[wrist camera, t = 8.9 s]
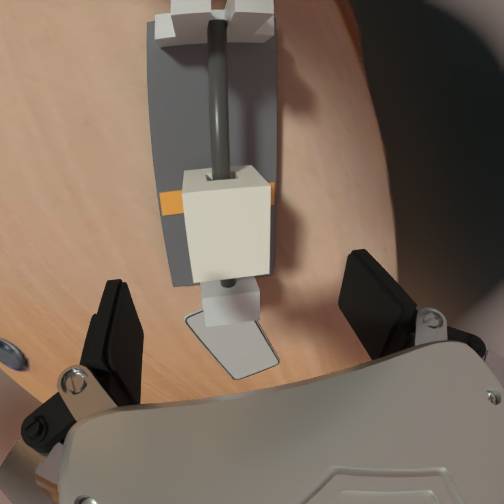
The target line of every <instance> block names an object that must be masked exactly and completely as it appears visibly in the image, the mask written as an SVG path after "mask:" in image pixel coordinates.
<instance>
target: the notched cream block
mask: <svg viewBox="0 0 504 504" xmlns="http://www.w3.org/2000/svg"><path fill="white" fill-rule="evenodd" d="M230 171H231V179H226V180H215V181H213V180H212V168H206V169H195V170H186V171H184V177H183V186H182V201H183V209H184V218H185V226H186V234H187V242H188V249H189V256H190V263H191V270H192V276H193V283H198V282H207V281H216V280H224V279H232V278H240V277H248V276H256V275H264V274H269V266H270V208H271V185H270V184H269V183H268V182H267V181H266V180H265V179H264V178H263V177H262V176H261V175H260V174H259V173H258V172H257V170H256V169H255V168H254V167H253V166H252V165H244V166H230Z"/></svg>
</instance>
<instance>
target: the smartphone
mask: <svg viewBox="0 0 504 504" xmlns="http://www.w3.org/2000/svg"><path fill="white" fill-rule="evenodd" d="M184 320H185V323H186V325H187V326H188V327H189V329H190V330H191V331H192V332H193V333H194V335H195V336H196V337H197V338H198V340H199V341H200V342H201V343H202V344H203V345H204V347H205V348H206V349H207V350H208V351H209V353H210V354H211V355H212V356H213V357H214V358H215V359H216V361H217V362H218V363H219V364H220V365H221V366H222V367H223V369H224V370H225V371H226V372H227V373H228V374H229V375H230V376H231V377H232V378H233V379H235V380H240V379H243V378H245V377H248V376H251V375H254V374H256V373H259V372H261V371H264V370H266V369H269V368H271V367H274V366H276V365H278V364H279V362H280V360H279V358H278V356H277V354H276V353H275V351H274V349H273V348H272V346H271V344H270V342H269V341H268V339H267V337H266V335H265V334H264V332H263V330H262V328H261V327H260V325H259V323H258V321H257V320H256V321H249V322H242V323H235V324H227V325H220V326H211V327H206V324H205V318H204V311H203V308H201V309H198V310H196V311H193V312H191V313H189V314H187V315H186V316H185V319H184Z"/></svg>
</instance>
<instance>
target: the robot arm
mask: <svg viewBox="0 0 504 504" xmlns="http://www.w3.org/2000/svg"><path fill="white" fill-rule="evenodd" d="M338 305H339V308H340V310H341V311H342V313H343V314H344V316H345V317H346V319H347V321H348V322H349V324H350V325H351V327H352V328H353V330H354V332H355V333H356V335H357V336H358V338H359V340H360V341H361V343H362V344H363V346H364V348H365V349H366V351H367V353H368V354H369V356H370V357H371V359H372V361H369V362H366V363H363V364H360V365H357V366H354V367H350V368H347V369H343V370H340V371H336V372H333V373H329V374H326V375H322V376H318V377H314V378H310V379H306V380H302V381H298V382H293V383H289V384H285V385H280V386H275V387H270V388H265V389H260V390H255V391H249V392H243V393H237V394H231V395H224V396H217V397H210V398H201V399H193V400H183V401H174V402H163V403H149V404H140V397H141V371H142V354H143V341H144V333H143V329H142V326H141V323H140V321H139V318H138V315H137V312H136V309H135V306H134V304H133V301H132V298H131V295H130V291H129V288H128V285H127V283H126V282H122V280H121V279H117V280H108V281H107V282H106V286H105V289H104V292H103V295H102V298H101V302H100V305H99V309H98V312H97V314H94V315H93V316H92V318H91V321H90V325H89V329H88V332H87V336H86V340H85V344H84V348H83V352H82V356H81V360H80V365H73V366H70V367H68V368H66V369H65V370H64V371H63V372H62V373H61V374H60V376H59V377H58V381H57V388H58V391H59V392H57V393H56V394H55V395H54V396H52V397H51V398H50V399H49V400H47V401H46V402H45V403H44V404H42V405H41V406H40V407H39V408H38V409H36V410H35V411H34V412H33V413H31V414H30V415H29V416H27V418H26V419H25V420H24V421H23V423H22V427H21V436H22V439H21V440H20V441H18V440H16V442H15V444H14V445H13V447H12V448H11V450H10V451H9V453H8V455H7V456H6V458H5V460H4V461H3V463H2V464H1V466H0V489H1V491H2V492H3V493H4V494H5V495H6V496H7V498H8V499H9V500H10V501H11V502H12V503H13V504H504V358H503V357H501V356H499V355H498V354H496V353H495V352H493V351H492V350H490V349H488V351H486V347H485V344H484V342H483V341H482V340H481V339H480V338H479V337H477V336H475V335H473V334H470V333H467V332H464V331H461V330H458V329H455V328H452V327H448V326H447V322H446V319H445V317H444V315H443V314H442V313H441V312H439V311H438V310H436V309H433V308H429V307H426V308H422V309H420V310H419V311H417V310H416V306H417V304H416V303H415V302H414V301H413V300H412V299H411V298H410V296H409V295H408V294H407V293H406V292H405V291H404V290H403V289H402V287H401V286H400V285H399V284H398V283H397V282H396V281H395V280H394V279H393V278H392V277H391V276H390V274H389V273H388V272H387V271H386V270H385V269H384V268H383V267H382V266H381V265H380V264H379V263H378V262H377V261H376V260H375V259H374V258H373V257H372V256H371V255H370V254H369V253H368V251H367V250H365V249H359V250H353V251H352V252H351V254H349V255H348V257H347V263H346V268H345V272H344V277H343V282H342V287H341V291H340V295H339V300H338ZM58 481H59V489H58V488H57V484H58ZM58 490H59V491H58Z"/></svg>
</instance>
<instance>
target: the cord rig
mask: <svg viewBox="0 0 504 504" xmlns="http://www.w3.org/2000/svg"><path fill="white" fill-rule="evenodd" d="M147 83H148V104H149V119H150V132H151V143H152V153H153V163H154V172H155V180H156V188H157V195H158V203H159V209H160V216H161V222H162V229H163V235H164V241H165V246H166V252H167V257H168V263H169V268H170V273H171V278H172V283H173V287H180V286H189V285H197V284H200V288H201V299H202V305H203V311H204V318H205V324H206V327H211V326H220V325H227V324H235V323H242V322H249V321H256V320H260V290H259V287H258V285H257V282H256V279H255V277H263V276H271V275H274V261H275V224H276V169H277V65H276V18H274V0H228V1H227V3H226V6H225V8H224V10H211V0H171V13H165V14H158V15H155V21H153V22H147ZM244 165H252V166H253V167H254V168H255V169H256V170H257V172H258V173H259V174H260V175H261V176H262V177H263V178H264V179H265V180H266V181H267V182H268V183H269V184H270V185H271V208H270V266H269V274H264V275H256V276H248V277H240V278H232V279H224V280H216V281H207V282H198V283H193V276H192V270H191V263H190V256H189V249H188V242H187V234H186V226H185V218H184V209H183V201H182V186H183V177H184V171H186V170H195V169H206V168H212V180H213V181H215V180H226V179H231V171H230V166H244Z"/></svg>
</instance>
